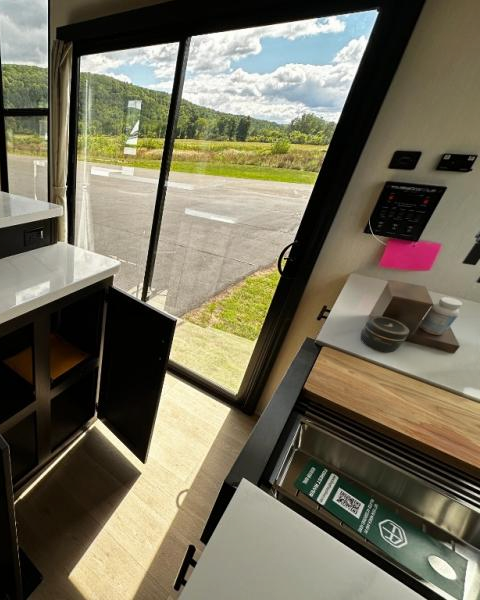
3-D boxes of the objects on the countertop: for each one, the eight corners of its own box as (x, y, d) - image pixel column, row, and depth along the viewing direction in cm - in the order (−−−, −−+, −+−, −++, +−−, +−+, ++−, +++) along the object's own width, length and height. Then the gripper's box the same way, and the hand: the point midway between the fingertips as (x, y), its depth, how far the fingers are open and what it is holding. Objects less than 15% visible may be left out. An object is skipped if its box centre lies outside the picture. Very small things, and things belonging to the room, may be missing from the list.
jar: (400, 343, 102) (413, 325, 98) (393, 358, 97) (407, 339, 93) (362, 329, 109) (373, 311, 104) (354, 342, 103) (364, 324, 99)
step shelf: (444, 332, 106) (472, 295, 98) (454, 353, 98) (486, 315, 90) (368, 314, 116) (388, 279, 108) (371, 332, 107) (393, 295, 99)
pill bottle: (433, 324, 105) (453, 295, 99) (449, 336, 100) (472, 306, 94) (413, 323, 106) (432, 295, 100) (428, 335, 101) (449, 306, 95)
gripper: (489, 187, 91) (446, 254, 102) (527, 210, 74) (470, 288, 85) (529, 189, 87) (480, 259, 99) (578, 215, 70) (512, 296, 81)
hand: (475, 273), depth 92 cm, fingers open, 13 cm apart
